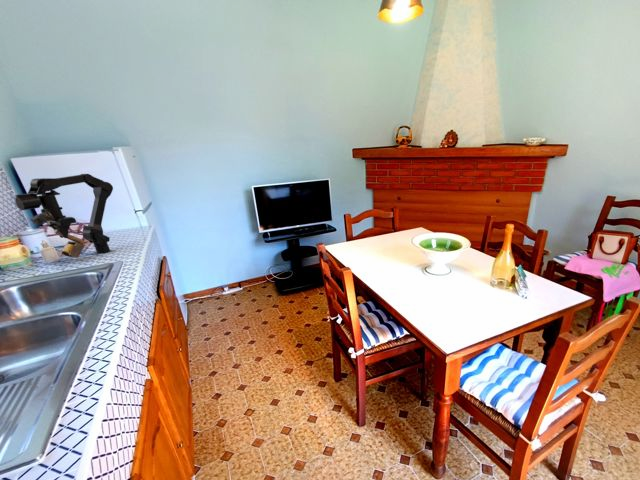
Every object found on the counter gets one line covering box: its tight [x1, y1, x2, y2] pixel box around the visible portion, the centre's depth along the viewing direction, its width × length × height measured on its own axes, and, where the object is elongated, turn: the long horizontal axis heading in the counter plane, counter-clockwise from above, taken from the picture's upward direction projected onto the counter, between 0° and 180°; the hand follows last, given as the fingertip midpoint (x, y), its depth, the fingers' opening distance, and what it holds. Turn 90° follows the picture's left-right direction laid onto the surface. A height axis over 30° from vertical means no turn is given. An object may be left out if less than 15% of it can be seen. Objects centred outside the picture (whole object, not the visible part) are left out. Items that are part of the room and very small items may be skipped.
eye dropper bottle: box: [38, 239, 61, 264], centre depth 150 cm, size 4×6×12 cm
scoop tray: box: [53, 229, 86, 259], centre depth 147 cm, size 10×7×12 cm
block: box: [61, 243, 74, 254], centre depth 149 cm, size 4×4×4 cm
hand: (64, 237), depth 146 cm, fingers closed on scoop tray, 2 cm apart
